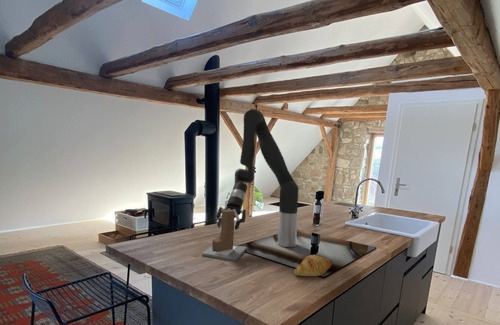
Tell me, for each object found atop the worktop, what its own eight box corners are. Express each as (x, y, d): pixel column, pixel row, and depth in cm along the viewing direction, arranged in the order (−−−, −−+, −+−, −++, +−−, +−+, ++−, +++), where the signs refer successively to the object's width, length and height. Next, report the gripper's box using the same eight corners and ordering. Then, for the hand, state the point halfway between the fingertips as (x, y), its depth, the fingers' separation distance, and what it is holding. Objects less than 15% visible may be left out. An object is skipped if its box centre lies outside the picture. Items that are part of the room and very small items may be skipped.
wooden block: (216, 252, 129) (218, 212, 129) (211, 249, 133) (213, 210, 132) (233, 248, 135) (235, 211, 134) (228, 246, 138) (229, 209, 138)
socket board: (246, 249, 139) (246, 246, 139) (235, 261, 124) (235, 257, 123) (216, 245, 143) (216, 242, 143) (201, 255, 128) (202, 252, 128)
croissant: (299, 288, 108) (307, 274, 105) (283, 268, 115) (291, 254, 112) (335, 275, 121) (343, 262, 117) (319, 257, 128) (326, 244, 124)
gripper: (221, 194, 144) (211, 221, 134) (248, 196, 140) (240, 225, 130) (224, 203, 150) (215, 230, 139) (251, 205, 146) (243, 234, 135)
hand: (227, 227), depth 134 cm, fingers open, 8 cm apart
